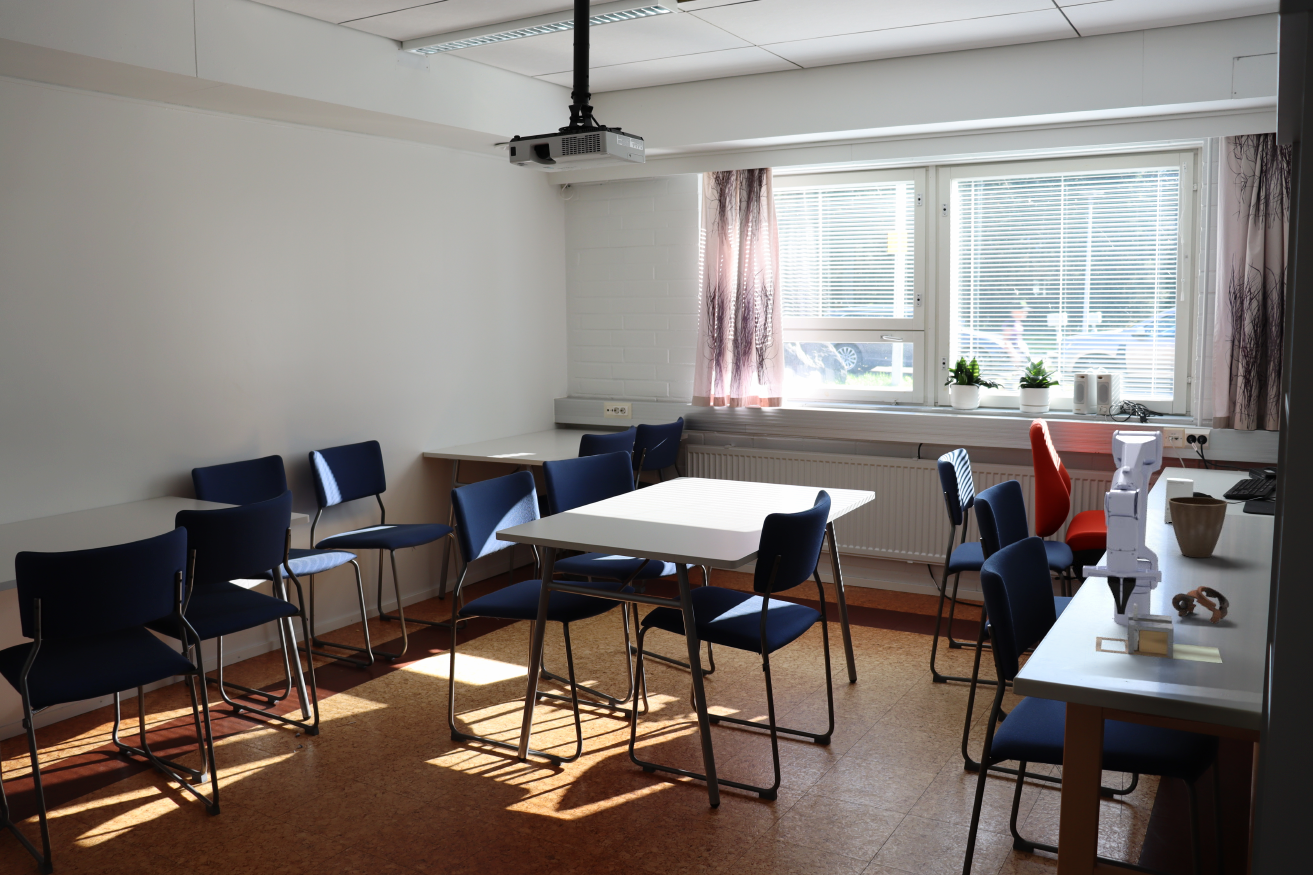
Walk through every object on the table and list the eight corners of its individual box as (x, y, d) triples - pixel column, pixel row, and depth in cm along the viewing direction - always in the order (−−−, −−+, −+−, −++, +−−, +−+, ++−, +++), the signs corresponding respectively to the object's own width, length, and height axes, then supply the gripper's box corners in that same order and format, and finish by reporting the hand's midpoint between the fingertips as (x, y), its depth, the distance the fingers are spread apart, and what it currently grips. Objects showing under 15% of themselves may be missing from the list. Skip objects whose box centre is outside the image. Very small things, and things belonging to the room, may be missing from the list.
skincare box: (1164, 523, 332) (1165, 479, 331) (1164, 520, 338) (1165, 477, 336) (1192, 524, 328) (1193, 480, 327) (1192, 521, 334) (1193, 478, 332)
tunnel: (1127, 639, 207) (1128, 612, 207) (1170, 643, 204) (1171, 615, 203) (1128, 653, 199) (1128, 624, 198) (1173, 657, 195) (1173, 628, 195)
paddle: (1132, 641, 205) (1133, 600, 204) (1136, 641, 205) (1137, 600, 204) (1133, 649, 200) (1133, 607, 199) (1137, 650, 199) (1138, 608, 199)
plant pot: (1158, 549, 294) (1159, 496, 292) (1209, 548, 293) (1210, 495, 292) (1182, 561, 279) (1184, 505, 277) (1236, 560, 278) (1238, 504, 277)
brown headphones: (1199, 611, 232) (1219, 585, 228) (1221, 640, 224) (1242, 613, 220) (1155, 602, 230) (1174, 576, 226) (1176, 631, 222) (1196, 604, 218)
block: (1138, 643, 204) (1138, 623, 204) (1165, 646, 202) (1166, 625, 202) (1139, 651, 200) (1139, 629, 199) (1166, 653, 198) (1167, 632, 197)
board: (1096, 643, 210) (1096, 636, 210) (1217, 654, 201) (1217, 647, 200) (1095, 657, 201) (1095, 650, 201) (1222, 670, 192) (1222, 662, 191)
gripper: (1082, 549, 201) (1081, 615, 202) (1162, 554, 195) (1161, 621, 196) (1083, 542, 207) (1083, 606, 209) (1161, 547, 201) (1159, 612, 202)
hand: (1120, 613), depth 203 cm, fingers closed
